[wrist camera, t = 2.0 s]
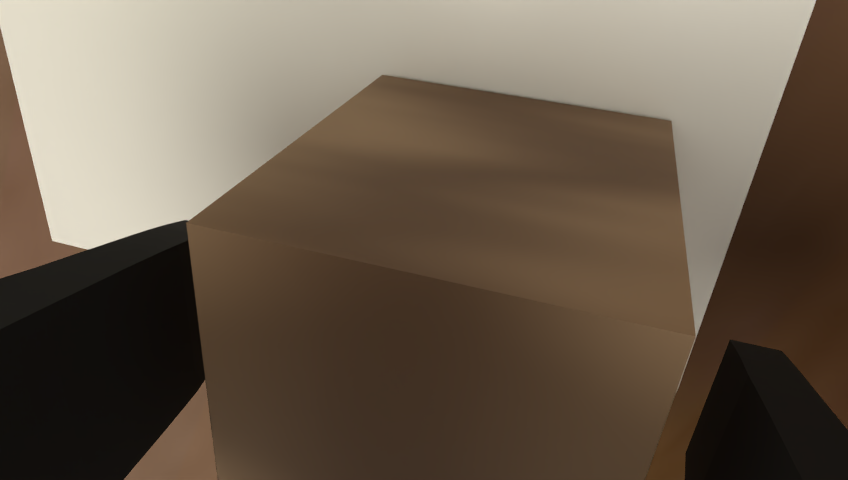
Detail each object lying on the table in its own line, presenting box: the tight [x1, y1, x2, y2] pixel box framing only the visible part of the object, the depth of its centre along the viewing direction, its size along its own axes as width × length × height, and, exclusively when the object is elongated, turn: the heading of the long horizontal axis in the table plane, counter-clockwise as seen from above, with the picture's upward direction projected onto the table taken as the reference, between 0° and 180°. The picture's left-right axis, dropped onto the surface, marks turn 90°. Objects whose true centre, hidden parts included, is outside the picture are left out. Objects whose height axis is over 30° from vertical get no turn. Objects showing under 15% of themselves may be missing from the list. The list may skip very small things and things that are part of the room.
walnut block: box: [186, 75, 696, 480], centre depth 10 cm, size 5×5×6 cm
